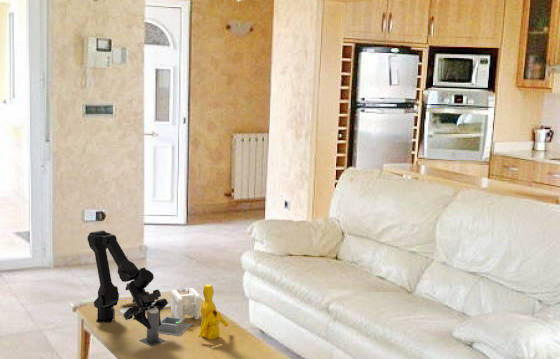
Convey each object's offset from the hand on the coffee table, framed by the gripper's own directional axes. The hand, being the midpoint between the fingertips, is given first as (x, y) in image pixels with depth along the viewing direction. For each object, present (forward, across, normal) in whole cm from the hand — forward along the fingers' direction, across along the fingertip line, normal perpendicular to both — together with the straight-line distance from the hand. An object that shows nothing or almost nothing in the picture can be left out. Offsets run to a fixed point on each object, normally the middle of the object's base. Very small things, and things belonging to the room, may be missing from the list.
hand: (155, 327), depth 274 cm
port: (0, +14, +10) cm, 17 cm away
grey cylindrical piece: (+3, 0, +5) cm, 6 cm away
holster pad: (+4, 0, +6) cm, 7 cm away
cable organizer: (-5, +28, +15) cm, 32 cm away
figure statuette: (+12, +21, -2) cm, 25 cm away
